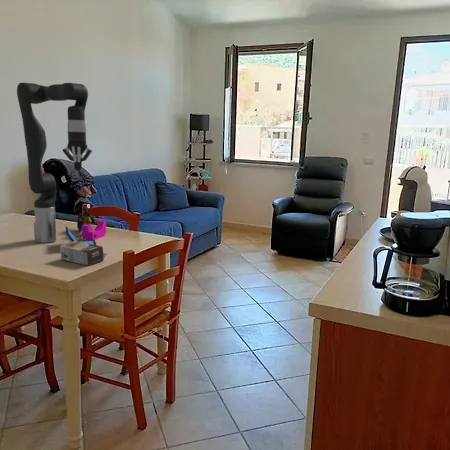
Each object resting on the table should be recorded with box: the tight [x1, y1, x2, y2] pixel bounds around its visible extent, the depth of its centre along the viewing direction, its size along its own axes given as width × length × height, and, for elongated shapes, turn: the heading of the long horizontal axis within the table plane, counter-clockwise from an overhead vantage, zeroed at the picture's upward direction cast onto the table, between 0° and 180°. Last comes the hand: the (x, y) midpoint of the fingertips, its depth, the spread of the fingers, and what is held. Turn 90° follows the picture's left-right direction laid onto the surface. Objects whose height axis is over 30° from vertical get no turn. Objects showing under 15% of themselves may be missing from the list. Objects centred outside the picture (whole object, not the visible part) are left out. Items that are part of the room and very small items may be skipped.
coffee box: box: [59, 241, 105, 267], centre depth 187 cm, size 9×6×16 cm
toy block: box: [81, 220, 107, 241], centre depth 230 cm, size 15×6×8 cm, turn 160°
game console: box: [65, 226, 97, 245], centre depth 211 cm, size 16×14×9 cm
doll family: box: [76, 206, 97, 237], centre depth 236 cm, size 23×9×13 cm, turn 34°
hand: (78, 170), depth 196 cm, fingers closed
